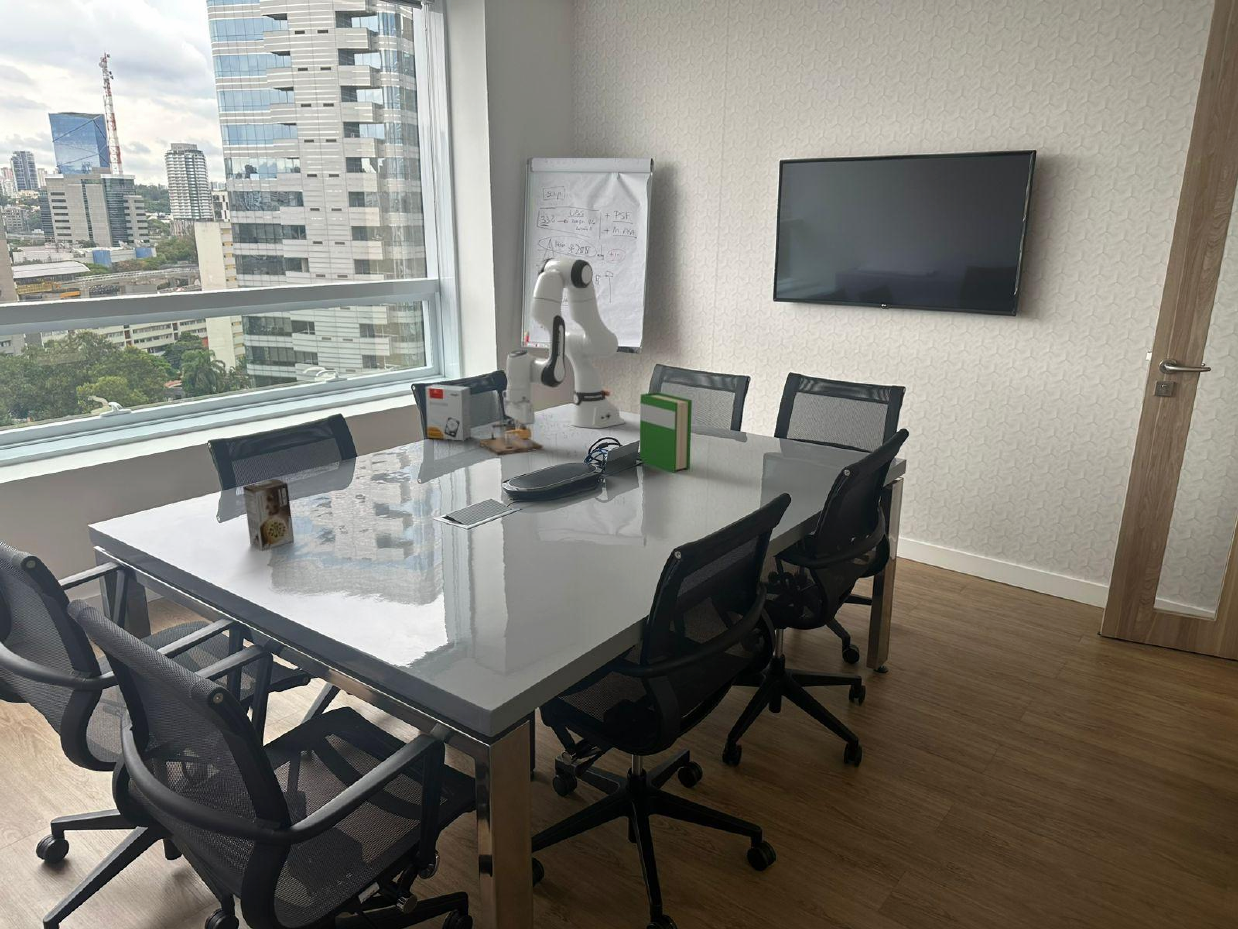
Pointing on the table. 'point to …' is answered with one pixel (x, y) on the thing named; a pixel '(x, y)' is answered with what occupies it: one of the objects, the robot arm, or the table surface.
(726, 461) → the table surface
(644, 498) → the table surface
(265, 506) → the cookie box
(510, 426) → the trammel beam
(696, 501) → the table surface
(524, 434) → the sliding head
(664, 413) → the hardback book
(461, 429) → the hard drive box
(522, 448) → the hole board
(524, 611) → the table surface
